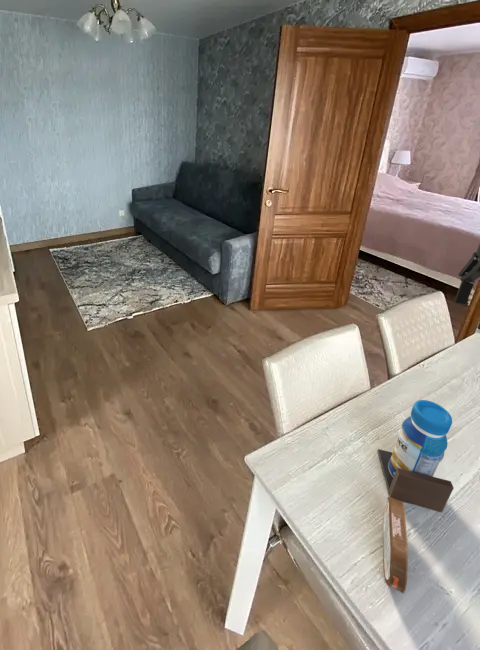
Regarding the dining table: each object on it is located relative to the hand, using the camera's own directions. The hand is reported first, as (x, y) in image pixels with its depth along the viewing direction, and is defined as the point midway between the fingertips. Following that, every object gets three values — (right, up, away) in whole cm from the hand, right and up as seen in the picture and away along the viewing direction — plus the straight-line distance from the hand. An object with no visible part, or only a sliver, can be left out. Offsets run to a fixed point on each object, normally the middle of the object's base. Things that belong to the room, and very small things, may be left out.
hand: (471, 315), depth 95 cm
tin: (-41, -40, -29) cm, 64 cm away
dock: (-28, -35, -15) cm, 47 cm away
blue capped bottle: (-28, -34, -16) cm, 47 cm away
